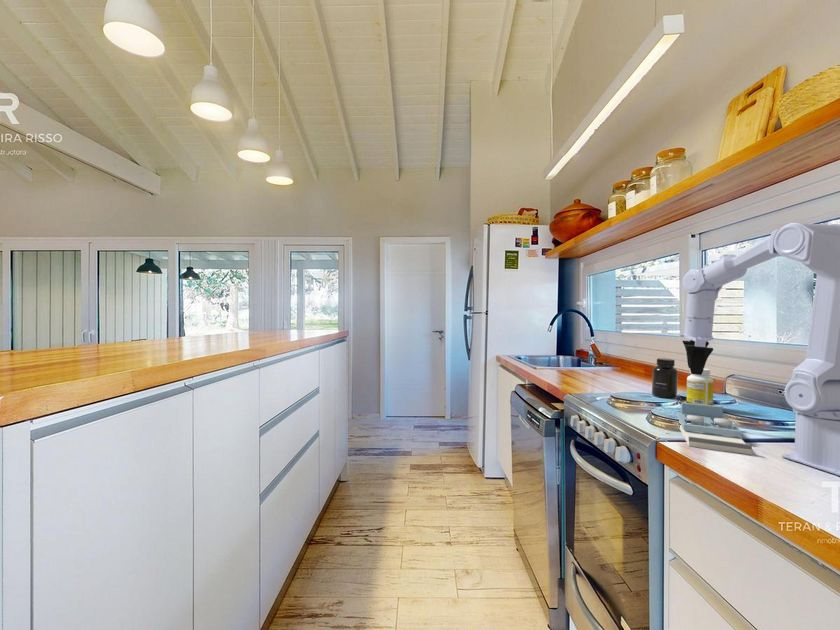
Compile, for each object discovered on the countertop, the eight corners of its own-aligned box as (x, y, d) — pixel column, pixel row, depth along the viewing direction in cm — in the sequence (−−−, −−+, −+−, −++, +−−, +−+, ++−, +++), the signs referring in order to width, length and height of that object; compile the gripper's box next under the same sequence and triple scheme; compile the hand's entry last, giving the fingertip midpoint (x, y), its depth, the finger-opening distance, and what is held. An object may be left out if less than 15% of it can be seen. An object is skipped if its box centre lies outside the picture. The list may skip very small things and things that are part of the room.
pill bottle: (704, 404, 114) (705, 367, 114) (718, 410, 108) (719, 370, 108) (681, 404, 115) (682, 366, 114) (694, 409, 108) (695, 370, 108)
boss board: (751, 454, 75) (752, 435, 75) (688, 445, 79) (689, 427, 79) (725, 426, 93) (725, 410, 92) (675, 420, 97) (675, 405, 97)
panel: (741, 437, 81) (741, 419, 81) (683, 430, 85) (684, 413, 85) (726, 422, 92) (727, 406, 92) (676, 416, 96) (676, 401, 96)
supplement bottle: (655, 398, 122) (656, 359, 122) (649, 393, 129) (650, 357, 129) (680, 399, 120) (681, 361, 120) (673, 395, 127) (673, 358, 127)
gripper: (678, 314, 106) (674, 363, 107) (682, 319, 94) (677, 374, 95) (710, 316, 102) (706, 367, 104) (718, 321, 90) (713, 378, 91)
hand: (694, 371), depth 99 cm, fingers open, 7 cm apart
